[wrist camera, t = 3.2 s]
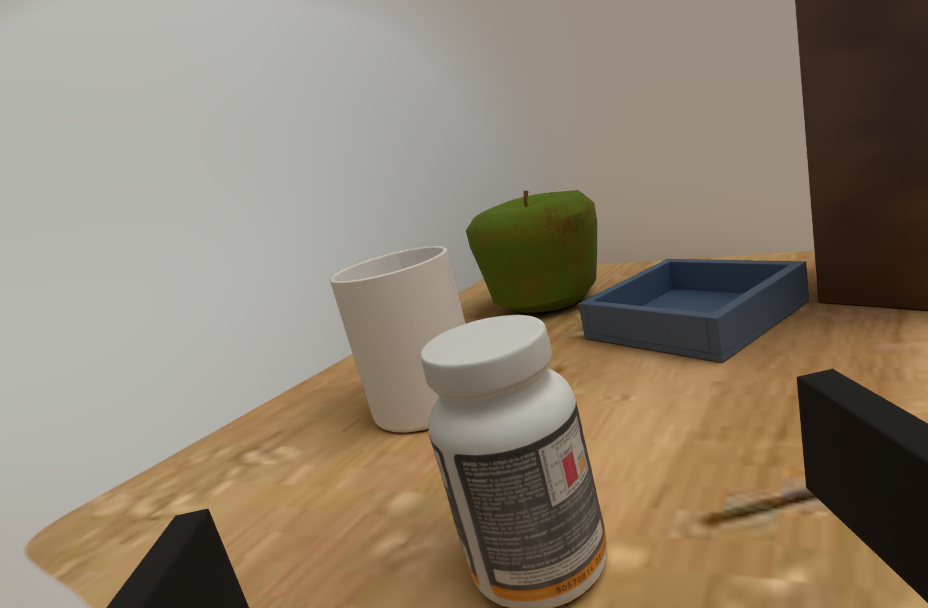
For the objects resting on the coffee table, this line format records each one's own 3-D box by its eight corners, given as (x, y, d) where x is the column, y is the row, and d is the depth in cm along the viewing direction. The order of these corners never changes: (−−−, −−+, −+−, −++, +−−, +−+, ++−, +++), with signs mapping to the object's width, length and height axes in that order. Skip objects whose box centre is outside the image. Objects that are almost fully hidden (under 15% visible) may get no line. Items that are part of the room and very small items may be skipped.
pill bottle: (633, 534, 23) (590, 308, 21) (566, 642, 19) (501, 377, 17) (519, 504, 27) (470, 308, 24) (442, 589, 23) (374, 365, 20)
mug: (482, 420, 36) (441, 261, 33) (363, 444, 37) (314, 291, 34) (483, 352, 48) (453, 230, 45) (393, 371, 48) (358, 252, 46)
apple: (482, 302, 63) (458, 201, 60) (591, 275, 62) (571, 172, 59) (492, 337, 51) (462, 213, 48) (627, 305, 50) (605, 177, 47)
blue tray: (809, 300, 42) (806, 261, 41) (722, 362, 36) (717, 318, 35) (671, 290, 51) (666, 258, 50) (584, 338, 45) (577, 303, 44)
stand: (1036, 265, 38) (1055, -412, 29) (991, 318, 33) (996, -488, 24) (865, 262, 46) (836, -268, 37) (807, 304, 41) (757, -300, 32)
